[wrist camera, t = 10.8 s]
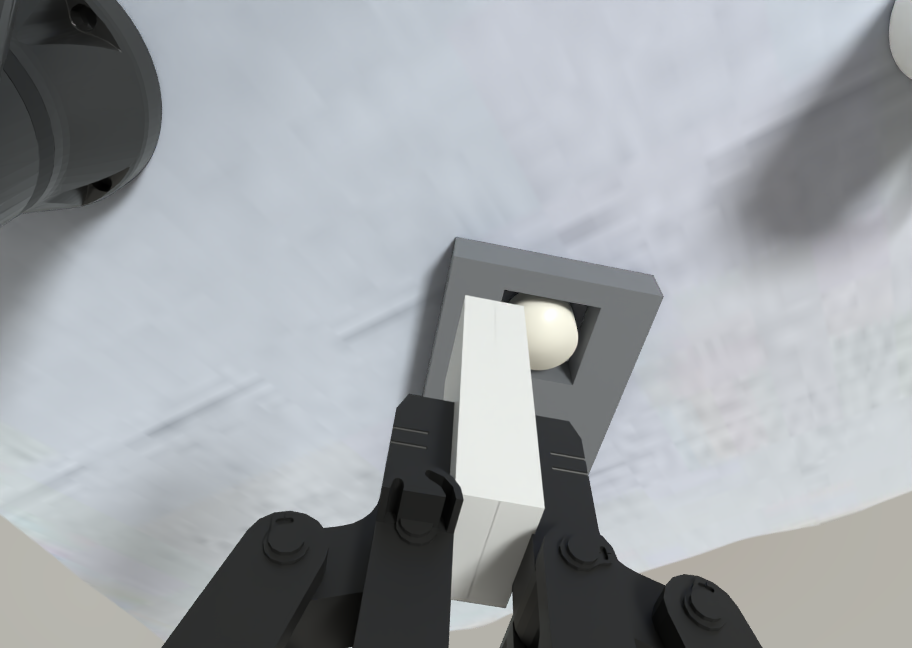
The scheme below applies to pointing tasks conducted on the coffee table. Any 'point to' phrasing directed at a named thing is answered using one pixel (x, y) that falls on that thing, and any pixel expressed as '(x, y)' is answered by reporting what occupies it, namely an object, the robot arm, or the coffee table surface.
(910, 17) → the mug
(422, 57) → the coffee table surface
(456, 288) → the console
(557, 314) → the button ivory
